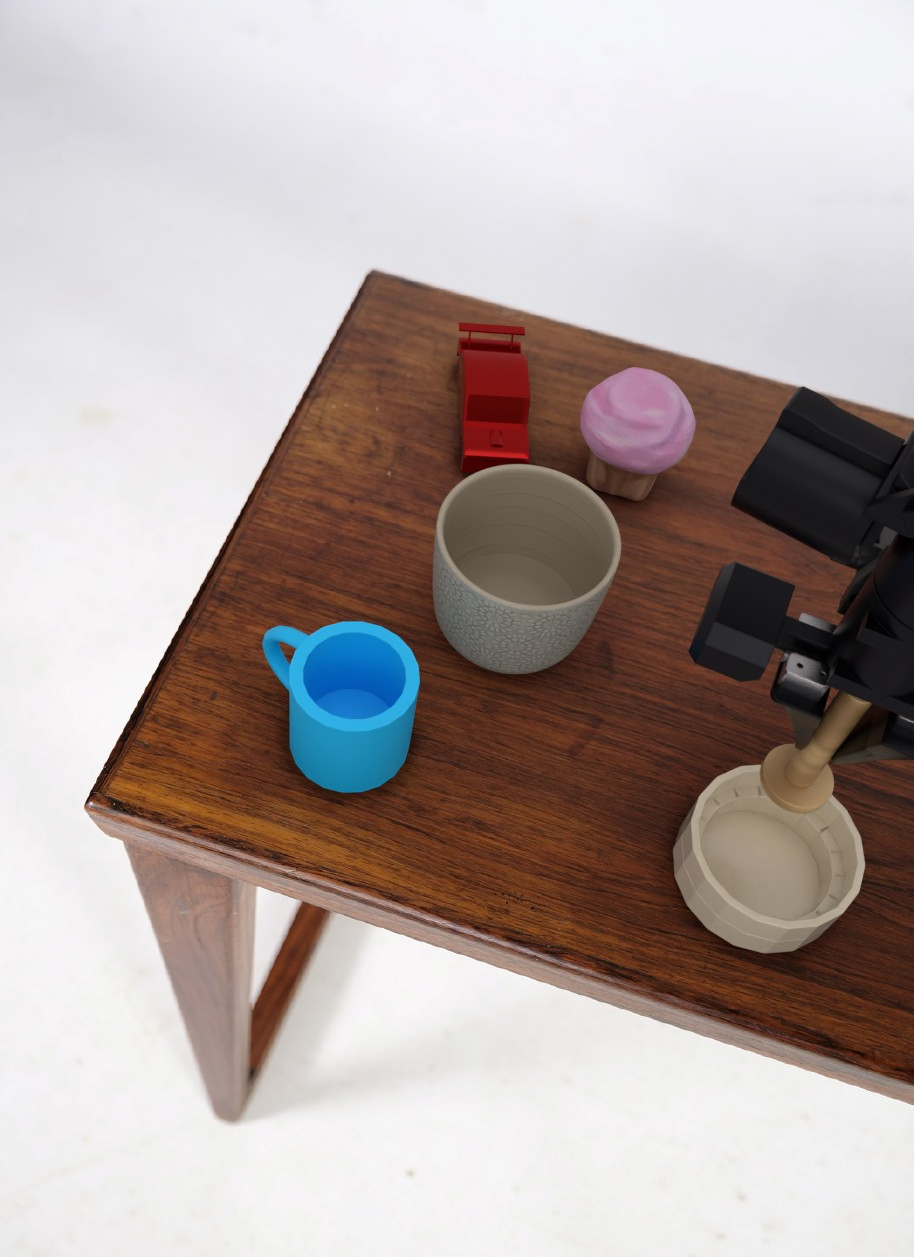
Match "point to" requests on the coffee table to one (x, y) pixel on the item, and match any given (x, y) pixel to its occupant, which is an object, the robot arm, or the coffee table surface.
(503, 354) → the toy car
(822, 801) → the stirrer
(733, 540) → the coffee table surface
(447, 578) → the planter
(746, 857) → the bowl
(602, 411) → the cupcake
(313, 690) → the mug
